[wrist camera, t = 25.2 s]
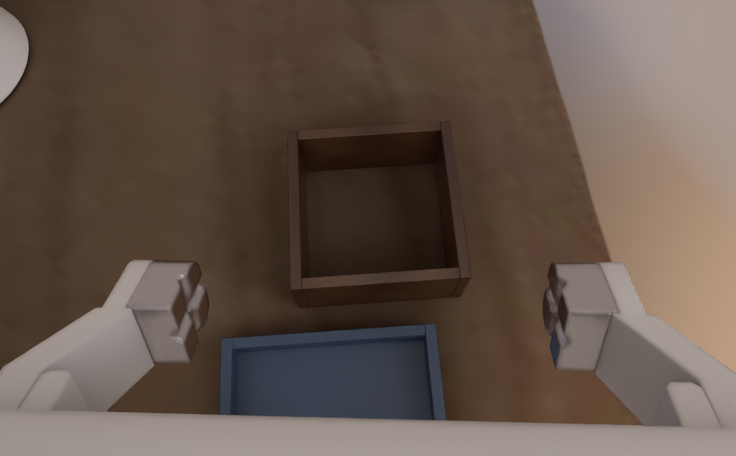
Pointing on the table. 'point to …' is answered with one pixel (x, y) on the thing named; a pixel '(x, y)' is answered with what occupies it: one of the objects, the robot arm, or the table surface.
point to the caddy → (375, 151)
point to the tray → (335, 374)
